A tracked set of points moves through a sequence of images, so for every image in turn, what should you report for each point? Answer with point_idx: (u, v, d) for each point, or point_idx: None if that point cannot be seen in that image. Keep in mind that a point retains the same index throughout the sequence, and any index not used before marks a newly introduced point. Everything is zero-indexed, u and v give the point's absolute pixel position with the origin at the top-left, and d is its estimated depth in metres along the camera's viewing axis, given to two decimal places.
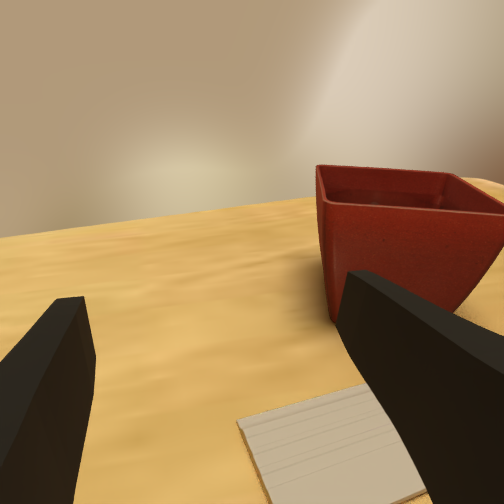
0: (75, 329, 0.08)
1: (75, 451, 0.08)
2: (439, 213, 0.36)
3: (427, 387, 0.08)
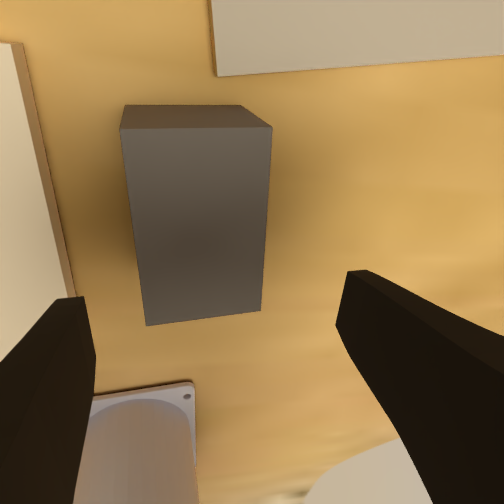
0: (75, 329, 0.08)
1: (75, 451, 0.08)
2: None
3: (427, 387, 0.08)
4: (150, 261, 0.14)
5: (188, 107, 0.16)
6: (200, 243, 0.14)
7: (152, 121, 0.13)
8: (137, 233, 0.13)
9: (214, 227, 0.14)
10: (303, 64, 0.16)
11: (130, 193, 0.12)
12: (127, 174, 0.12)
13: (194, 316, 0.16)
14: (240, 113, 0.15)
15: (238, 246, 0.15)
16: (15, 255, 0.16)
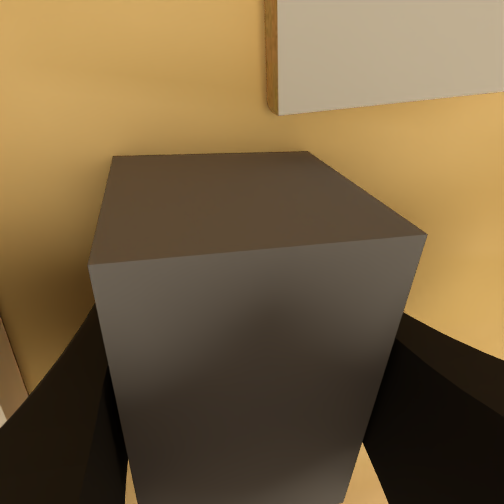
0: None
1: None
2: None
3: (387, 395, 0.08)
4: (158, 476, 0.07)
5: (225, 162, 0.09)
6: (255, 436, 0.07)
7: (165, 219, 0.06)
8: (132, 440, 0.06)
9: (283, 410, 0.07)
10: (423, 90, 0.09)
11: (117, 381, 0.06)
12: (109, 349, 0.05)
13: None
14: (325, 179, 0.08)
15: (323, 430, 0.08)
16: None
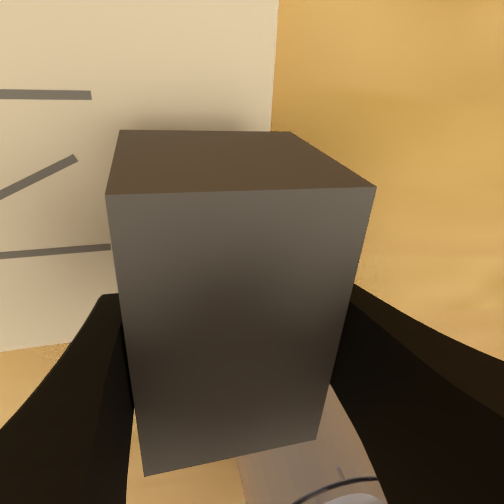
0: None
1: (126, 441, 0.08)
2: None
3: (386, 395, 0.08)
4: (154, 394, 0.08)
5: (217, 136, 0.10)
6: (236, 364, 0.09)
7: (165, 171, 0.07)
8: (134, 357, 0.08)
9: (261, 340, 0.08)
10: None
11: (123, 300, 0.07)
12: (118, 270, 0.07)
13: (218, 456, 0.10)
14: (301, 150, 0.09)
15: (295, 363, 0.09)
16: None
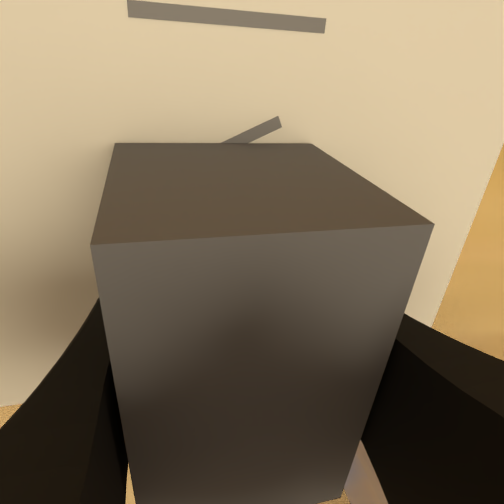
0: None
1: None
2: None
3: (386, 395, 0.08)
4: (155, 466, 0.07)
5: (229, 151, 0.09)
6: (254, 428, 0.07)
7: (169, 203, 0.06)
8: (131, 429, 0.06)
9: (283, 401, 0.07)
10: None
11: (117, 367, 0.06)
12: (110, 333, 0.05)
13: None
14: (330, 169, 0.08)
15: (323, 422, 0.08)
16: (455, 155, 0.11)
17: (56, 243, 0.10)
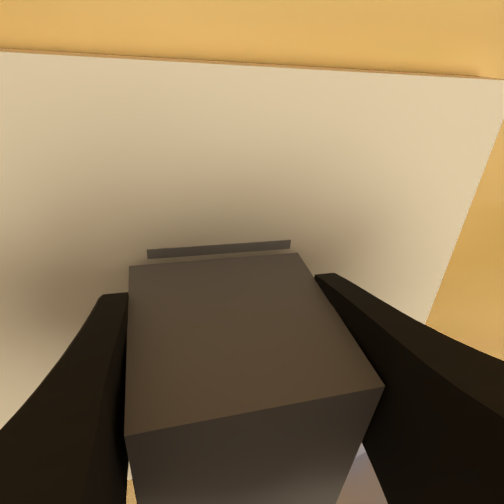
0: (125, 323, 0.08)
1: None
2: None
3: (386, 395, 0.08)
4: None
5: (226, 273, 0.10)
6: None
7: (179, 368, 0.07)
8: None
9: (269, 497, 0.09)
10: None
11: (139, 496, 0.07)
12: (135, 478, 0.07)
13: None
14: (310, 301, 0.09)
15: None
16: (398, 304, 0.14)
17: None
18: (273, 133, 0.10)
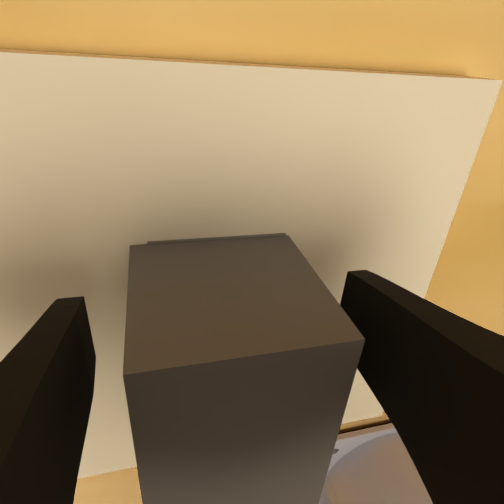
0: (75, 329, 0.08)
1: (75, 451, 0.08)
2: None
3: (427, 387, 0.08)
4: None
5: (220, 251, 0.11)
6: (239, 478, 0.09)
7: (174, 324, 0.08)
8: (145, 484, 0.09)
9: (260, 458, 0.09)
10: None
11: (137, 444, 0.08)
12: (133, 424, 0.07)
13: None
14: (298, 273, 0.10)
15: (292, 471, 0.10)
16: None
17: None
18: (268, 130, 0.10)
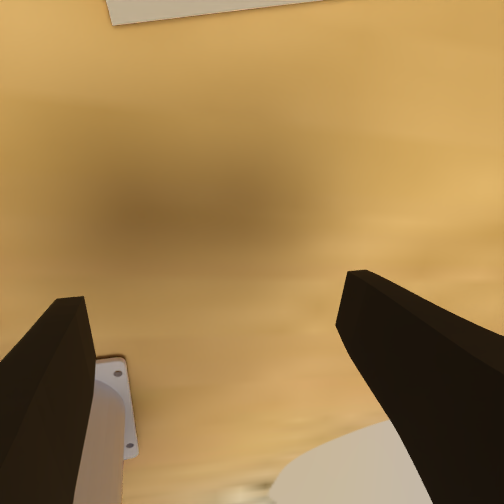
0: (75, 329, 0.08)
1: (75, 451, 0.08)
2: None
3: (427, 387, 0.08)
4: None
5: None
6: None
7: None
8: None
9: None
10: (212, 6, 0.14)
11: None
12: None
13: None
14: None
15: None
16: None
17: None
18: None
